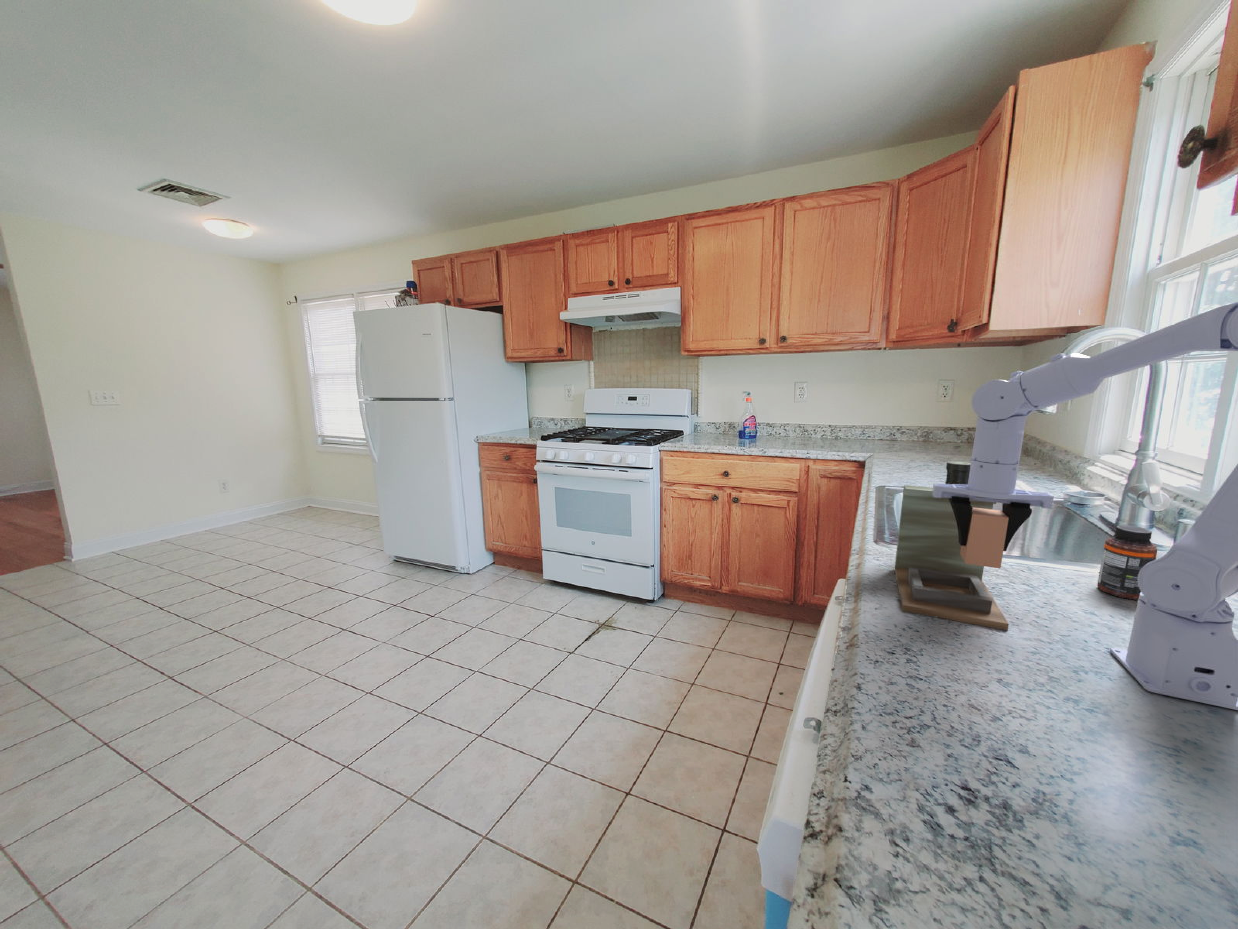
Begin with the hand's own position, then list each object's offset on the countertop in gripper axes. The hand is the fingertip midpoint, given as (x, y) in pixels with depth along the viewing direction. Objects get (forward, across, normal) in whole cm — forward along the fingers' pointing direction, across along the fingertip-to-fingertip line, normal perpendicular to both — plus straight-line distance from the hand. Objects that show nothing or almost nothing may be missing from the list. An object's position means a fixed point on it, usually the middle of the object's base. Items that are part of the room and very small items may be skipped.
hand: (981, 546), depth 75 cm
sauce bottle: (+10, +1, -17) cm, 20 cm away
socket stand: (+9, +4, -1) cm, 10 cm away
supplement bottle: (+10, -23, -16) cm, 29 cm away
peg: (+2, 0, 0) cm, 2 cm away
